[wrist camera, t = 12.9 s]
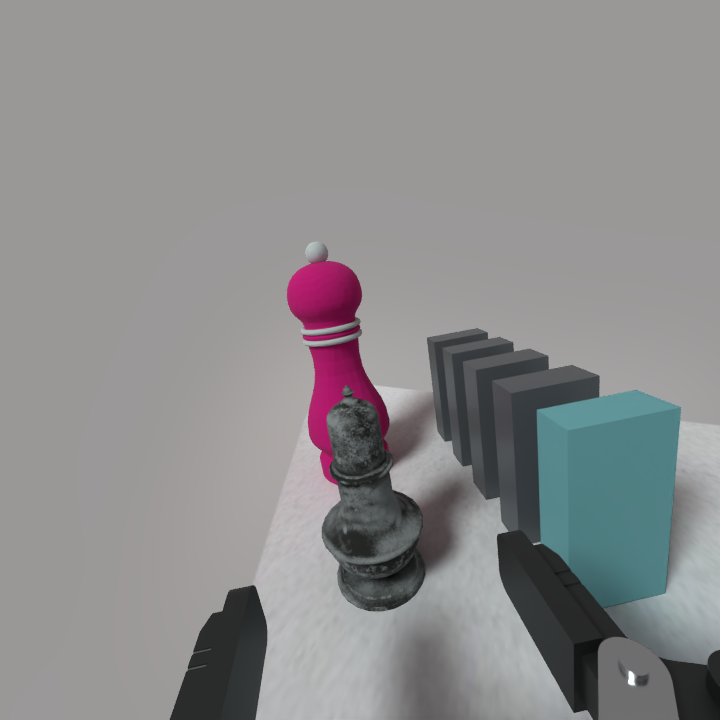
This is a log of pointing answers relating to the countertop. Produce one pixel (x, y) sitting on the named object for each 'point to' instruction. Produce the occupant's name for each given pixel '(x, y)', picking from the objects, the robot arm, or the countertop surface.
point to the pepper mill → (331, 342)
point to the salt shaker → (369, 513)
